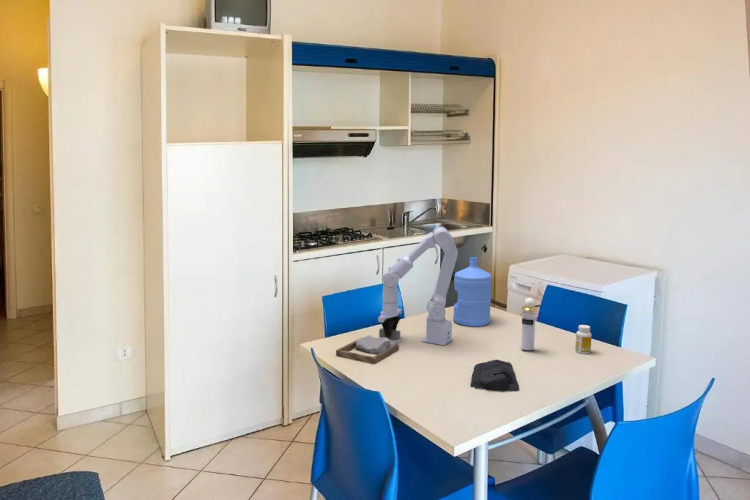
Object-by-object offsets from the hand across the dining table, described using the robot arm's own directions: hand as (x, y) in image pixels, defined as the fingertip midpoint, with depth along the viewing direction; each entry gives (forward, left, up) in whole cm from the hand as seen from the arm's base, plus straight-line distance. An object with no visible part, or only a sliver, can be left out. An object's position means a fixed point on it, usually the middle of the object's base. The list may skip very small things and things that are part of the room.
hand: (390, 335), depth 246 cm
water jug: (-17, -40, -2) cm, 44 cm away
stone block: (+1, +12, -2) cm, 12 cm away
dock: (0, +16, -2) cm, 16 cm away
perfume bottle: (-49, -17, -2) cm, 52 cm away
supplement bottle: (-67, -26, -2) cm, 72 cm away
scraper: (0, +3, -2) cm, 4 cm away
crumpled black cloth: (-49, +15, -3) cm, 51 cm away
